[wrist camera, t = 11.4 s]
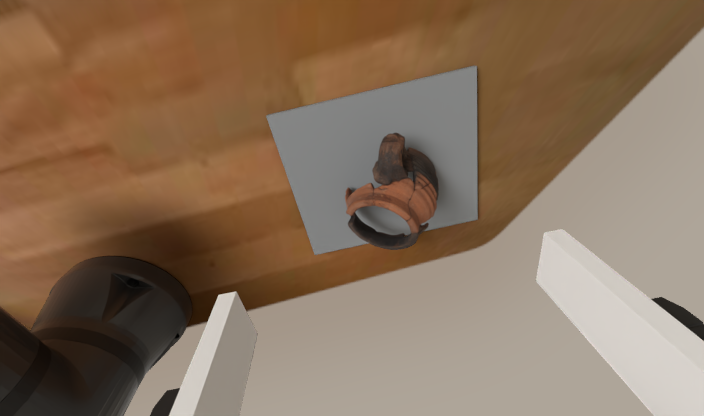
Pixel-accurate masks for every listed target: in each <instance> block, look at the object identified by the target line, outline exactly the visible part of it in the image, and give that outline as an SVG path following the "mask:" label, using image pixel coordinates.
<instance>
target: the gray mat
mask: <svg viewBox="0 0 704 416" xmlns="http://www.w3.org/2000/svg"><path fill="white" fill-rule="evenodd" d="M266 117H267V120H268V123H269V126H270V128H271V131H272V134H273V137H274V140H275V143H276V145H277V148H278V151H279V154H280V157H281V160H282V163H283V165H284V168H285V171H286V174H287V177H288V180H289V183H290V185H291V188H292V191H293V194H294V197H295V200H296V203H297V205H298V208H299V211H300V214H301V217H302V220H303V222H304V225H305V228H306V231H307V234H308V237H309V240H310V242H311V245H312V248H313V251H314V254H315V255H317V254H322V253H326V252H331V251H335V250H340V249H345V248H349V247H354V246H358V245H363V244H368V243H369V242H366V241H364V240H362V239H361V238H359V237H358V236H357V235H356V234H355V233H354V232H353V231H352V230H351V229H350V228H349V226H348V222H349V220H350V218H351V216H350V215H349V214H347V213H346V210H347V206H346V201H345V195H346V190H347V188H350V189H351V191H352V193H353V192H354V191H356V190H357V189H358V188H361V187H362V186H364V185H366V184H368V183H372V184H373V186H374V188H378V187H379V186H381V185H382V184H379V183H377V182H376V181H375V180H374V175H373V172H372V170H373V167H374V165H375V163H376V161H378V155H379V148H380V144H381V142H382V140H383V138H384V137H385V136H387V135H388V134H393V133H399V134H400V135H402V136H404V137H405V148H406V150H408V148H409V147H410V148H413V149H416V150H418V151H420V152H422V153H423V154H425V155H426V156H427V157H428V158H429V159H430V160H431V162H432V163H433V165H434V167H435V171H436V176H437V178H438V185H439V186H438V188H439V191H438V194H439V195H438V200H437V201H436V202H437V208H436V210H435V212H434V216H433V217H431V218H430V219H429V220H427V221H426V222H424V223H422V224H421V225H425V224H426V223H429V225H428V228H427V229H426V230H424V231H428V230H432V229H437V228H441V227H446V226H451V225H455V224H460V223H464V222H469V221H474V220H478V193H477V66H470V67H466V68H462V69H458V70H454V71H449V72H445V73H441V74H437V75H433V76H428V77H424V78H420V79H416V80H412V81H408V82H403V83H399V84H395V85H391V86H387V87H382V88H378V89H374V90H370V91H366V92H361V93H357V94H353V95H349V96H345V97H340V98H336V99H332V100H328V101H324V102H319V103H315V104H311V105H307V106H303V107H298V108H294V109H290V110H286V111H282V112H278V113H273V114H269V115H267V116H266ZM408 177H409V178H411V179H412V180H413V173H412V172H408ZM355 213H356V215H357V216H358V218H359V219H360V220H361V221H362V222H364V223H365V224H366V225H368V226H370V227H372V228H373V229H375V230H376V231H377V232H383V233H386V234H389V235H398V234H401V233H404V234H405V235H409V234H410V233H411V231H410V227H409V225H408V224H407V222H406V221H405V220H404V219H403V218H402V217H401V216H399V215H398V214H396V213H394V212H392V211H390V210H388V209H385V208H382V207H377V206H367V207H362V208H359V209H358V210H356V212H355Z"/></svg>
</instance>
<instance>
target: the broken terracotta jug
mask: <svg viewBox="0 0 704 416" xmlns="http://www.w3.org/2000/svg"><path fill="white" fill-rule="evenodd" d="M372 172H373V175H374V180H375V181H376V182H377V183H379V184H382V185H381V186H379V187H378V188H374V186H373V184H372V183H368V184H366V185H364V186H362V187H361V188H358V189H357V190H356V191H354V192H353V193H352V191H351V189H350V188H347V190H346V195H345V201H346V206H347V210H346V213H347V214H349V215H350V216H351V218H350V220H349V222H348V226H349V228H350V229H351V230H352V231H353V232H354V233H355V234H356V235H357V236H358V237H359V238H361V239H362V240H364V241H366V242H369V243H370V244H372V245H374V246H377V247H381V248H384V249H391V250H398V249H404V248H408V247H410V246H412V245H413V244H415V243H416V241H417V239H418V236H419V235H420V234H421V233H422V232H423V231H424V230H426V229H427V228H428V225H429V223H426V224H425V225H421V224H422V223H424V222H426V221H427V220H429V219H430V218H431V217H433V216H434V212H435V210H436V208H437V202H436V201H437V200H438V195H439V194H438V191H439V188H438V186H439V185H438V178H437V176H436V171H435V167H434V165H433V163H432V162H431V160H430V159H429V158H428V157H427V156H426V155H425V154H423V153H422V152H420V151H418V150H416V149H413V148H410V147H409V148H408V150H406V148H405V137H404V136H402V135H400V134H399V133H393V134H388V135H387V136H385V137H384V138H383V140H382V142H381V144H380V148H379V155H378V161H376V163H375V165H374V167H373V170H372ZM408 172H412V173H413V180H412V179H411V178H409V177H408ZM367 206H377V207H382V208H385V209H388V210H390V211H392V212H394V213H396V214H398V215H399V216H401V217H402V218H403V219H404V220H405V221H406V222H407V224H408V225H409V227H410V231H411V233H410V234H409V235H408V236H406V237H404V236H405V234H404V233H401V234H398V235H389V234H386V233H383V232H377V231H376V230H375V229H373V228H372V227H370V226H368V225H366V224H365V223H364V222H362V221H361V220H360V219H359V218H358V216H357V215H356V213H355V212H356V210H358V209H359V208H362V207H367Z"/></svg>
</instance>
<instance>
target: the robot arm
mask: <svg viewBox="0 0 704 416" xmlns="http://www.w3.org/2000/svg"><path fill="white" fill-rule="evenodd" d="M536 282H537V283H538V284H539V285H540V287H541V288H542V289H543V290H544V291H545V292H546V293H547V294H548V295H549V297H550V298H551V299H552V300H553V301H554V302H555V304H556V305H557V306H558V307H559V308H560V309H561V310H562V312H563V313H564V314H565V315H566V316H567V317H568V318H569V319H570V321H571V322H572V323H573V324H574V325H575V326H576V327H577V328H578V330H579V331H580V332H581V333H582V334H583V335H584V337H585V338H586V339H587V340H588V341H589V342H590V343H591V345H592V346H593V347H594V348H595V349H596V350H597V351H598V352H599V354H600V355H601V356H602V357H603V358H604V359H605V360H606V362H607V363H608V364H609V365H610V366H611V367H612V368H613V370H614V371H615V372H616V373H617V374H618V375H619V376H620V378H621V379H622V380H623V381H624V382H625V383H626V384H627V386H628V387H629V388H630V389H631V390H632V391H633V392H634V393H635V395H636V396H637V397H638V398H639V399H640V400H641V401H642V403H643V404H644V405H645V406H646V407H647V408H648V409H649V411H651V413H652V414H653V415H654V416H704V324H703V322H702V321H700V320H699V319H698V318H696V317H695V316H694V315H693V314H691V313H690V312H688V311H687V310H686V309H684V308H683V307H681V306H679V305H676V304H675V303H673V302H670V301H668V300H666V299H664V298H662V297H659V298H654V299H650V298H649V297H648V296H646V295H645V294H644V293H642V292H641V291H640V290H639V289H637V288H636V287H635V286H634V285H632V284H631V283H630V282H628V281H627V280H626V279H625V278H624V277H622V276H621V275H620V274H618V273H617V272H616V271H615V270H613V269H612V268H611V267H610V266H608V265H607V264H606V263H605V262H603V261H602V260H601V259H600V258H598V257H597V256H596V255H595V254H593V253H592V252H591V251H590V250H588V249H587V248H586V247H584V246H583V245H582V244H580V243H579V242H578V241H577V240H576V239H574V238H573V237H572V236H571V235H569V234H568V233H567V232H566V231H564V230H563V229H560V230H554V231H550V232H544V236H543V242H542V248H541V254H540V259H539V265H538V271H537V277H536ZM191 316H192V303H191V300H190V297H189V295H188V293H187V292H186V290H185V289H184V288H183V286H182V285H181V284H180V283H179V282H178V281H177V280H176V279H175V278H173V277H172V276H171V275H169V274H168V273H166V272H165V271H163V270H161V269H160V268H158V267H156V266H153V265H151V264H149V263H146V262H143V261H140V260H136V259H132V258H126V257H117V256H105V257H96V258H92V259H88V260H85V261H83V262H80V263H79V264H77V265H75V266H74V267H73V268H71V269H70V270H69V271H68V272H67V273H66V274H65V275H64V276H63V277H61V278H60V279H59V280H58V281H57V283H56V284H55V285H54V286H53V288H52V290H51V292H50V294H49V297H48V298H47V300H46V302H45V304H44V306H43V308H42V309H41V311H40V313H39V315H38V317H37V319H36V321H35V323H34V325H33V327H32V329H31V331H29V330H28V329H27V328H25V327H24V326H23V325H22V324H21V323H19V322H18V321H17V320H16V319H15V318H13V317H12V316H11V315H10V314H9V313H7V312H6V311H5V310H4V309H3V308H1V307H0V416H124V414H125V412H126V410H127V408H128V406H129V404H130V402H131V400H132V398H133V396H134V394H135V392H136V390H137V388H138V387H139V385H140V383H141V381H142V379H143V378H144V376H145V374H146V373H147V372H148V371H149V370H150V369H151V368H152V366H154V365H155V364H156V363H157V361H159V360H160V359H161V357H162V356H163V355H164V354H165V353H166V352H167V351H168V350H169V349H170V347H172V346H173V345H174V344H175V343H176V342H177V341H178V340H179V339H180V338H181V336H182V335H183V333H184V331H185V329H186V327H187V325H188V323H189V321H190V319H191ZM256 339H257V331H256V329H255V327H254V326H253V324H252V322H251V320H250V318H249V316H248V314H247V312H246V310H245V308H244V306H243V304H242V302H241V300H240V298H239V296H238V294H237V292H231V293H226V294H220V295H218V298H217V300H216V302H215V305H214V307H213V310H212V312H211V315H210V317H209V319H208V322H207V324H206V327H205V329H204V332H203V334H202V337H201V339H200V341H199V344H198V346H197V349H196V351H195V353H194V356H193V358H192V361H191V363H190V366H189V368H188V371H187V373H186V375H185V378H184V381H183V383H182V385H181V388H178V389H173V390H168V391H166V393H165V394H164V395H163V396H162V398H161V399H160V400H159V402H158V403H157V404H156V405H155V407H154V408H153V410H152V412H151V415H150V416H239V415H240V410H241V406H242V401H243V397H244V392H245V388H246V383H247V379H248V374H249V370H250V366H251V361H252V357H253V352H254V348H255V343H256Z"/></svg>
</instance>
